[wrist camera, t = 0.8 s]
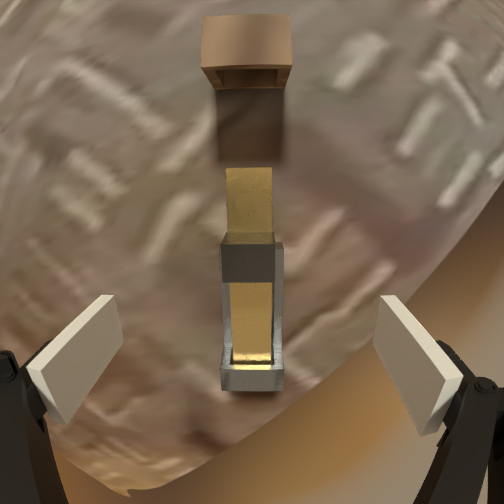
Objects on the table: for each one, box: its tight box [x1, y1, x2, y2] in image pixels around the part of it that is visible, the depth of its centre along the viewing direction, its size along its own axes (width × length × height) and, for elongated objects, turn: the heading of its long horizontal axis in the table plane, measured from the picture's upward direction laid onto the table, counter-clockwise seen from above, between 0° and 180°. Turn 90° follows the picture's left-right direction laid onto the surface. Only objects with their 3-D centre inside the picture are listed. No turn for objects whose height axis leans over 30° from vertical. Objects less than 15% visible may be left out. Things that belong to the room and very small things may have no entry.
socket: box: [201, 14, 292, 90], centre depth 24 cm, size 7×5×8 cm
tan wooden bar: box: [221, 167, 275, 365], centre depth 28 cm, size 4×22×9 cm, turn 1°
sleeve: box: [219, 243, 284, 391], centre depth 31 cm, size 6×14×7 cm, turn 1°
